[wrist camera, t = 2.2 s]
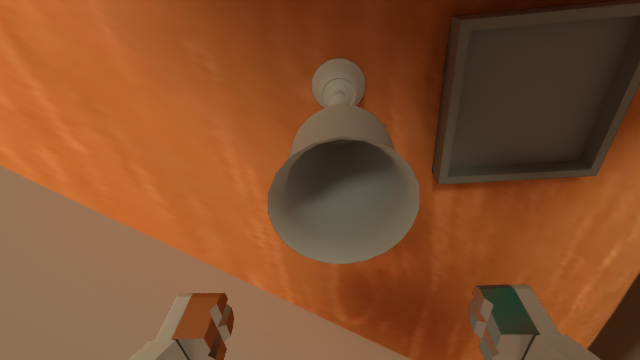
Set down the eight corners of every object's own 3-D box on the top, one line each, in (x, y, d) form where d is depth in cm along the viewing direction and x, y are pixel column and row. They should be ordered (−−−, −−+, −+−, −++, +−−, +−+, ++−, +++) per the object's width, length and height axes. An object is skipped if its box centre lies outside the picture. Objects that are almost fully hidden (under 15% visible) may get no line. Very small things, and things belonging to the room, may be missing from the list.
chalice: (311, 35, 27) (282, 117, 12) (387, 56, 27) (450, 158, 12) (295, 113, 31) (257, 249, 16) (361, 130, 31) (385, 274, 16)
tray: (450, 16, 25) (461, 20, 23) (650, -4, 24) (679, -1, 22) (431, 171, 34) (438, 184, 32) (579, 162, 32) (596, 175, 30)
